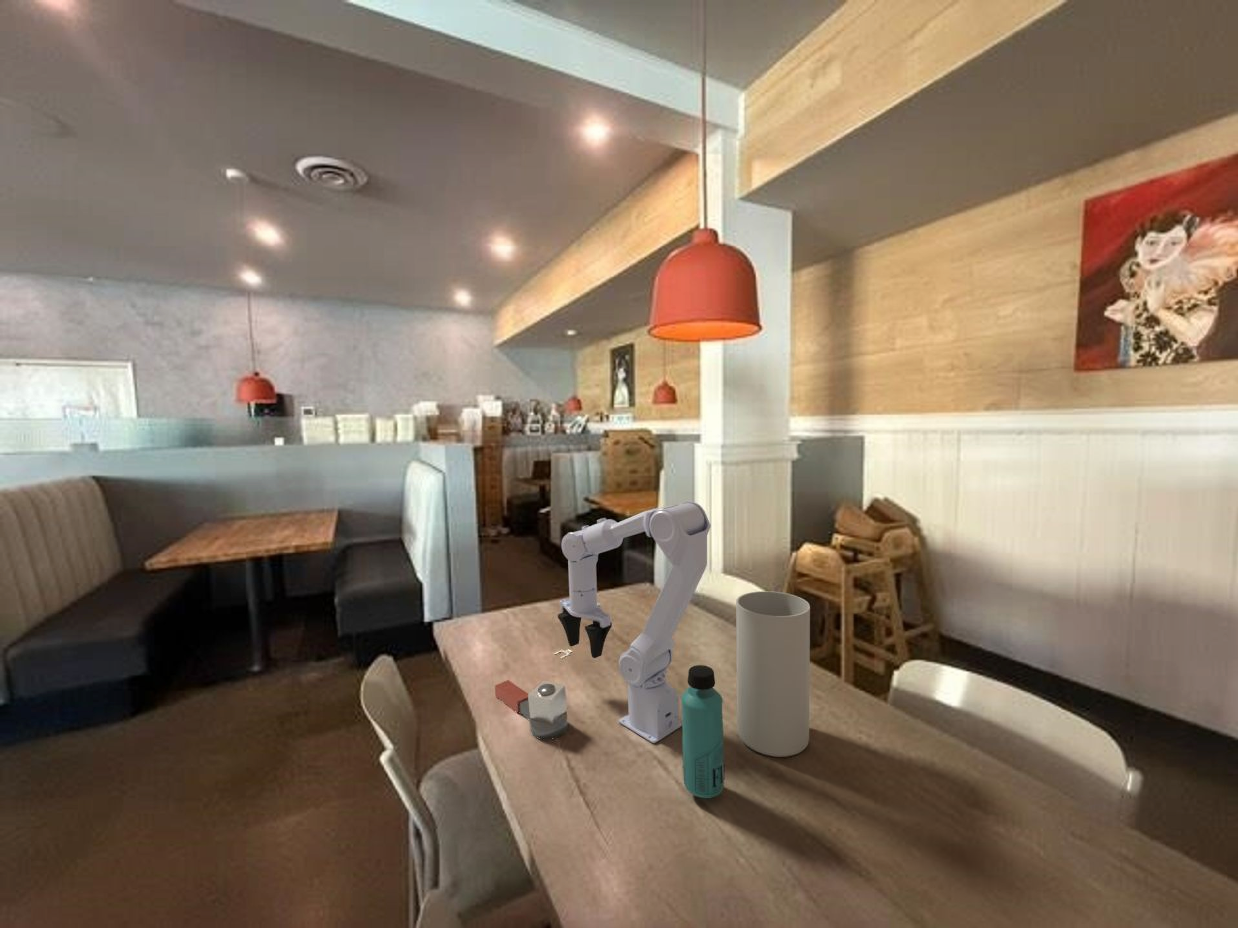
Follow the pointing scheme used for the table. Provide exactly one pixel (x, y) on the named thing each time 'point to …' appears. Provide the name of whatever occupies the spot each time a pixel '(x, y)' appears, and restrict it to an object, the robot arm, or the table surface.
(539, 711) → the cube block
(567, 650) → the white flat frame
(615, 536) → the robot arm
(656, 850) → the table surface
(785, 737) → the cylinder vase
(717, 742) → the beverage bottle
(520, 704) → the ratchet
